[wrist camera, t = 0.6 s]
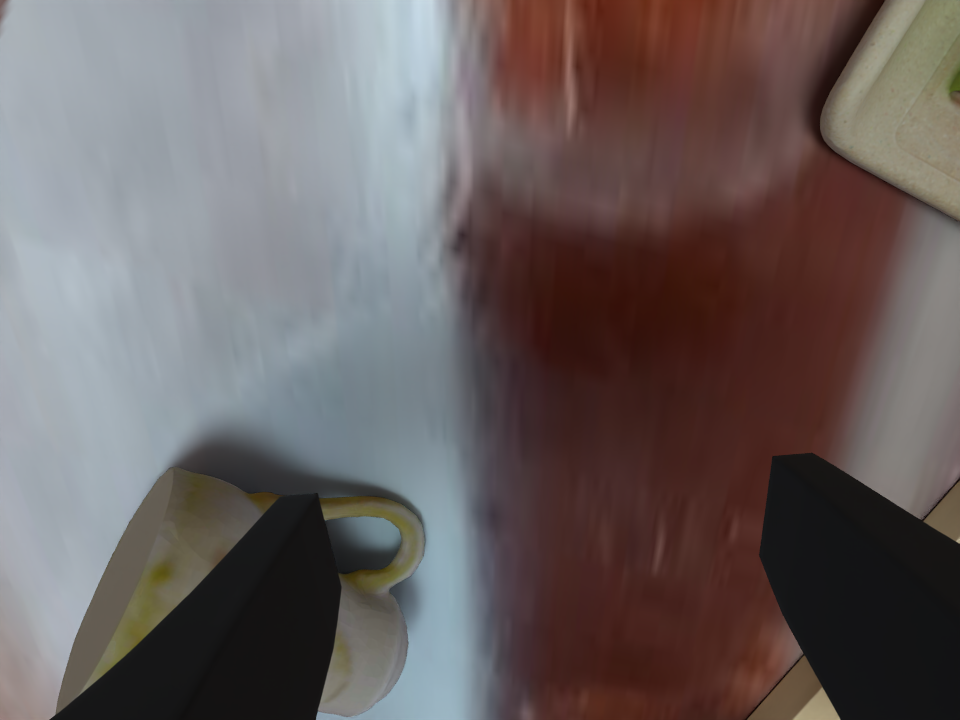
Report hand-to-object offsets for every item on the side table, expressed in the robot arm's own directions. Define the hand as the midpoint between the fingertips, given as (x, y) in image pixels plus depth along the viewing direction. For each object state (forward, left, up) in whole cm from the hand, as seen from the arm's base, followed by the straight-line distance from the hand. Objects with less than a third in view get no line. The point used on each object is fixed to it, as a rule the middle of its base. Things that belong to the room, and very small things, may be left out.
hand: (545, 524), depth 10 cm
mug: (-11, +3, -11) cm, 15 cm away
